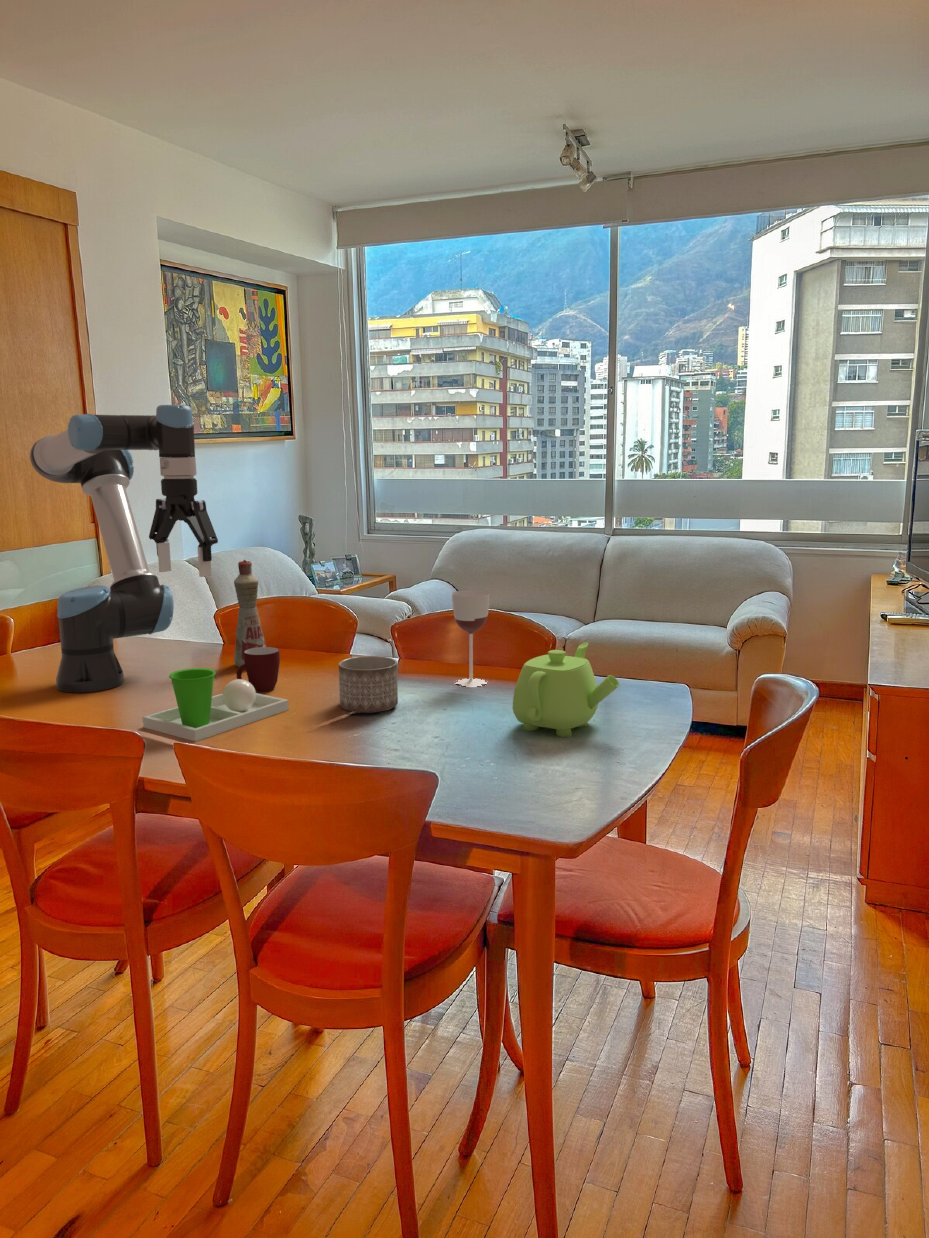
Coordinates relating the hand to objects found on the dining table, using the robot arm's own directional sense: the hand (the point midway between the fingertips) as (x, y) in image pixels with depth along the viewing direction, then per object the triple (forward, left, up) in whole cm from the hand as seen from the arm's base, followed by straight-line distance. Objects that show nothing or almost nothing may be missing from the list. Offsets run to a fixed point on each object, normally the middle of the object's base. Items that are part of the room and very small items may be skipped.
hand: (184, 573), depth 200 cm
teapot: (+82, +29, -29) cm, 92 cm away
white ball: (+19, -3, -28) cm, 34 cm away
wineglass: (+46, +46, -29) cm, 71 cm away
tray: (+19, -9, -29) cm, 36 cm away
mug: (+10, +11, -29) cm, 32 cm away
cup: (+19, -15, -28) cm, 37 cm away
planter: (+39, +16, -29) cm, 51 cm away
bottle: (-12, +29, -29) cm, 43 cm away
